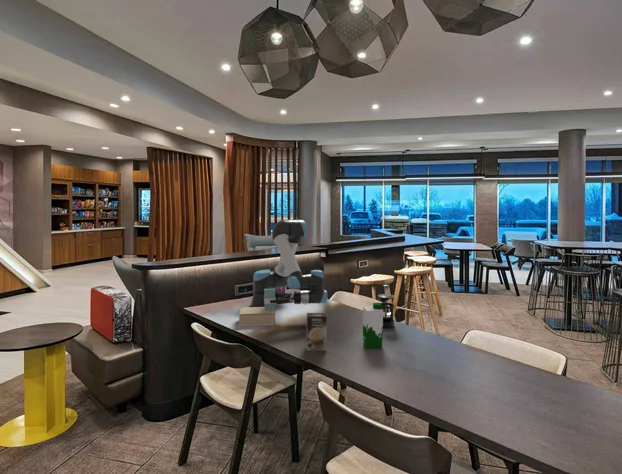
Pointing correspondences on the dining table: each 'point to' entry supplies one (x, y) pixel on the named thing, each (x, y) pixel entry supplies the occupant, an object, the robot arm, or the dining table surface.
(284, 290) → the candy bar box
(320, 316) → the coffee box
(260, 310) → the carton lid
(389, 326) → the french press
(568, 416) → the dining table surface
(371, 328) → the milk carton
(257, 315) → the carton
